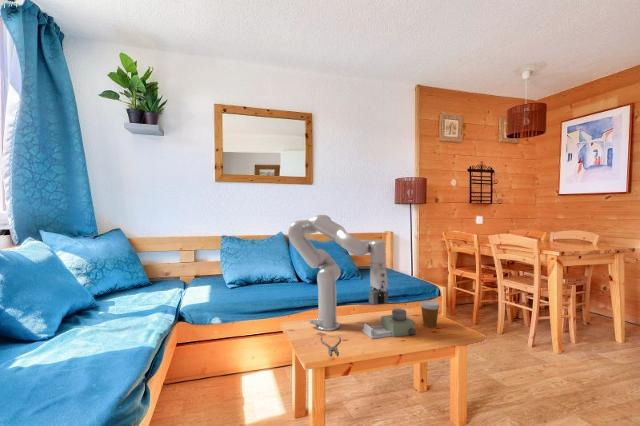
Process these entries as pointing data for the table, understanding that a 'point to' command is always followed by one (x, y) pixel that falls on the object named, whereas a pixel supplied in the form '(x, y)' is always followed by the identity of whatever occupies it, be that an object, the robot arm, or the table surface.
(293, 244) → the robot arm
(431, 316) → the disposable coffee cup
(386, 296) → the dark grey block
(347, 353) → the table surface
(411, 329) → the knobbed sage block
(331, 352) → the pliers
